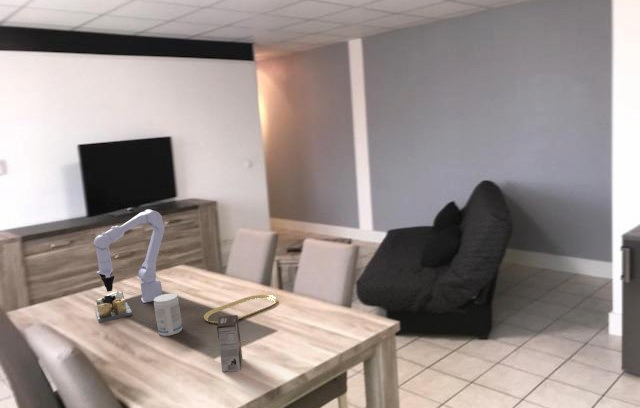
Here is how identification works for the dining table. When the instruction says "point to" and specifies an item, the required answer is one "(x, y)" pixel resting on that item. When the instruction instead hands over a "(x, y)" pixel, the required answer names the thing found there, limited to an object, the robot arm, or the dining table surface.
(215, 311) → the loop handle
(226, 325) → the coffee box
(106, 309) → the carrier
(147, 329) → the dining table surface
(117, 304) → the tan hollow octagonal prism
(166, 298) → the supplement tub
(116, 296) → the pneumatic valve
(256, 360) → the dining table surface
